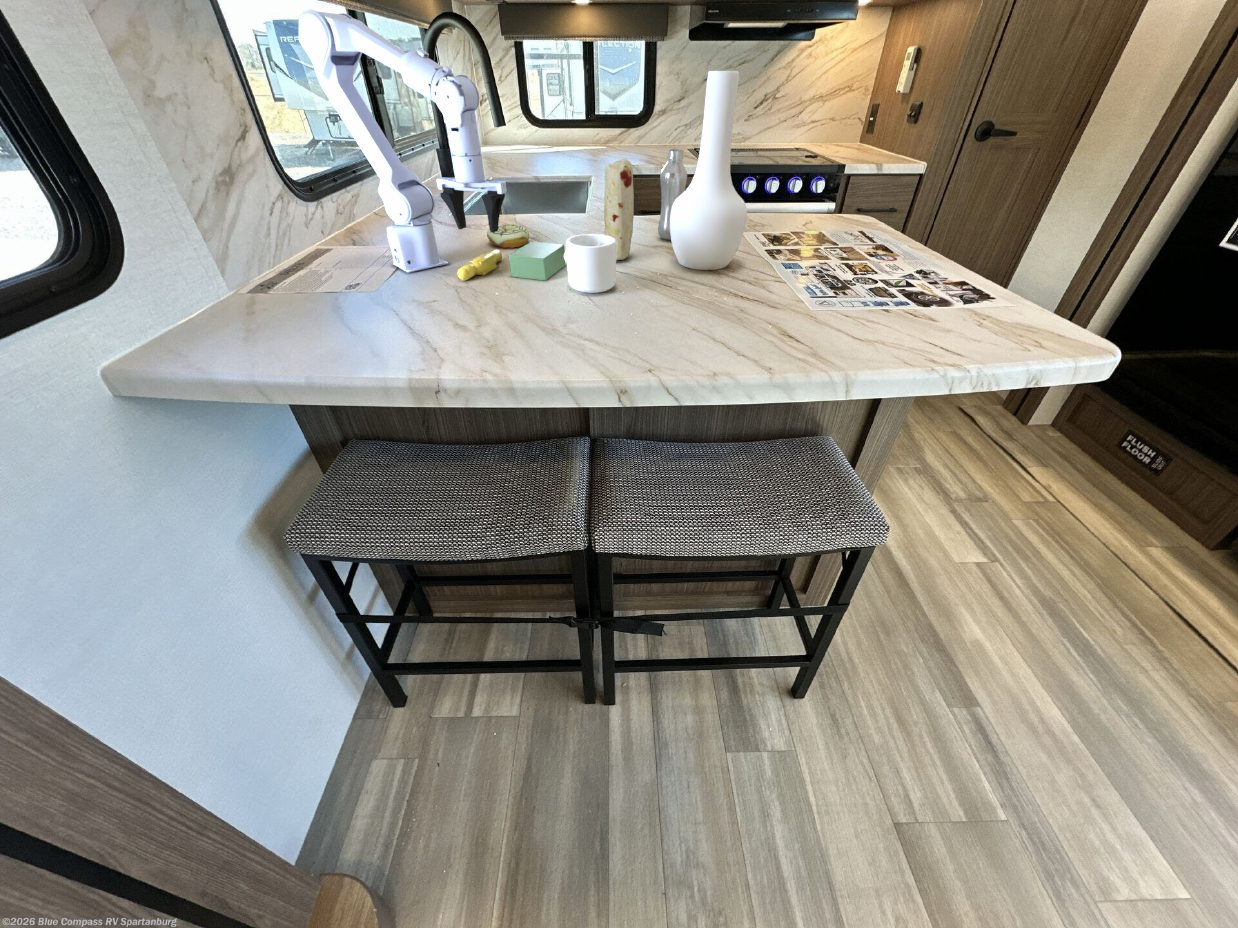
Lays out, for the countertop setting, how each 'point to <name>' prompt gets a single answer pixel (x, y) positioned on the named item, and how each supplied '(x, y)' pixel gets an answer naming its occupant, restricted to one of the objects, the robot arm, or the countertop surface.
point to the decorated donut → (509, 236)
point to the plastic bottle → (671, 188)
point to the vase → (711, 187)
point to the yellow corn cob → (480, 265)
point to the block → (537, 260)
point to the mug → (591, 262)
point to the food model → (619, 205)
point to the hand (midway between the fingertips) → (478, 229)
